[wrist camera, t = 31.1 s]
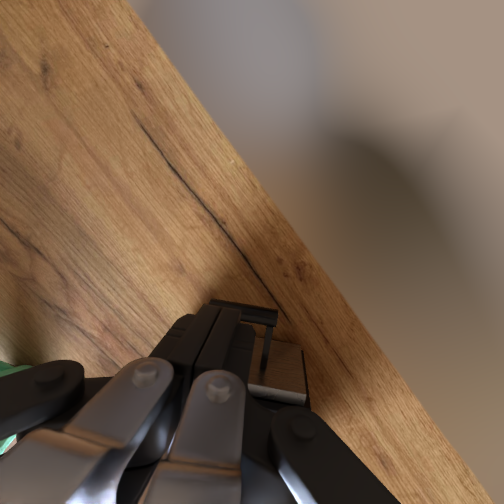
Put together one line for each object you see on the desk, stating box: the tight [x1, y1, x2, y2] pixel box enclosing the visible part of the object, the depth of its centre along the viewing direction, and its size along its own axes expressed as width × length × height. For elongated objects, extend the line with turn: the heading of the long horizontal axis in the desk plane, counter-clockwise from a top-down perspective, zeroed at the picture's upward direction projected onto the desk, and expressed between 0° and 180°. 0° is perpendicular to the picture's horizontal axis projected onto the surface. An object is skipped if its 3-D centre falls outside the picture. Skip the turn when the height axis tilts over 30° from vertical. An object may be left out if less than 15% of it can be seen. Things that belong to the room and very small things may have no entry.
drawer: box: [209, 298, 306, 406], centre depth 26 cm, size 20×12×7 cm, turn 172°
